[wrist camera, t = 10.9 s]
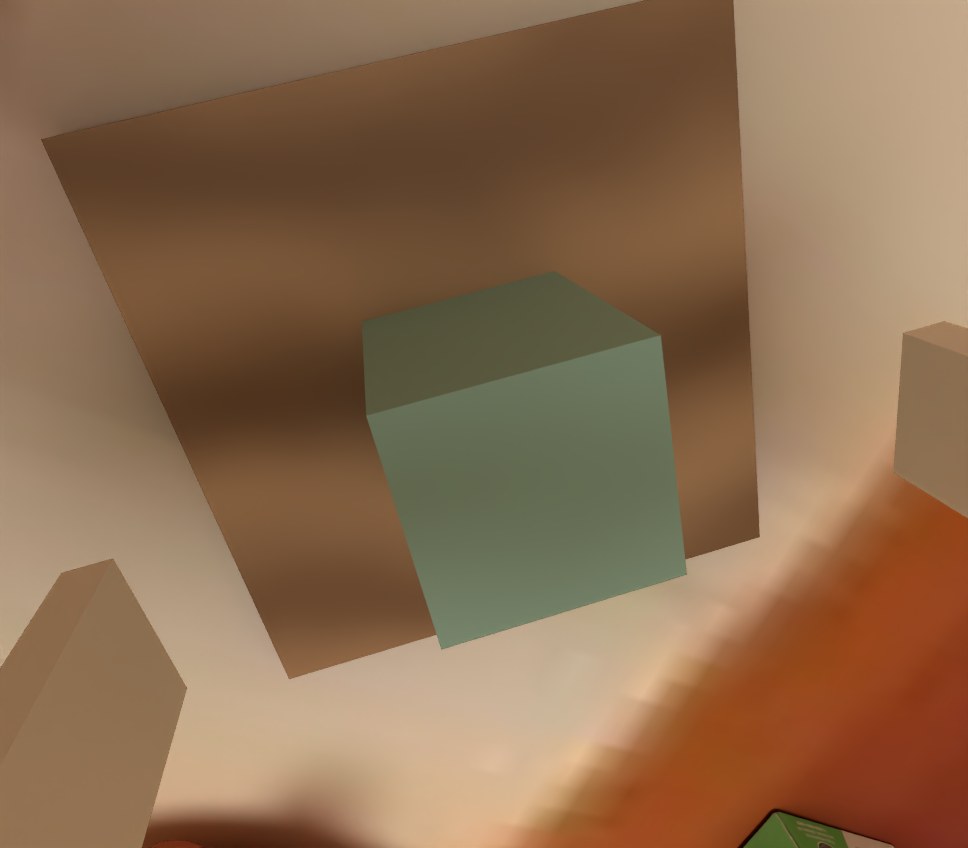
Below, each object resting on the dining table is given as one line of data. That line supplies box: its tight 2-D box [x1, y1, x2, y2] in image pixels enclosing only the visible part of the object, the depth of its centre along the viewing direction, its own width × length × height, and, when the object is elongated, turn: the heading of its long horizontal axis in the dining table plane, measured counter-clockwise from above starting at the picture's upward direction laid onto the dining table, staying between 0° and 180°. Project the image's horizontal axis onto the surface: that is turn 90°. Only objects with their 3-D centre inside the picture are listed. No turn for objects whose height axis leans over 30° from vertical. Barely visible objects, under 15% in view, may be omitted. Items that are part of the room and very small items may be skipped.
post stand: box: [41, 0, 760, 679], centre depth 16 cm, size 16×16×6 cm
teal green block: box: [362, 271, 687, 649], centre depth 15 cm, size 5×5×7 cm
